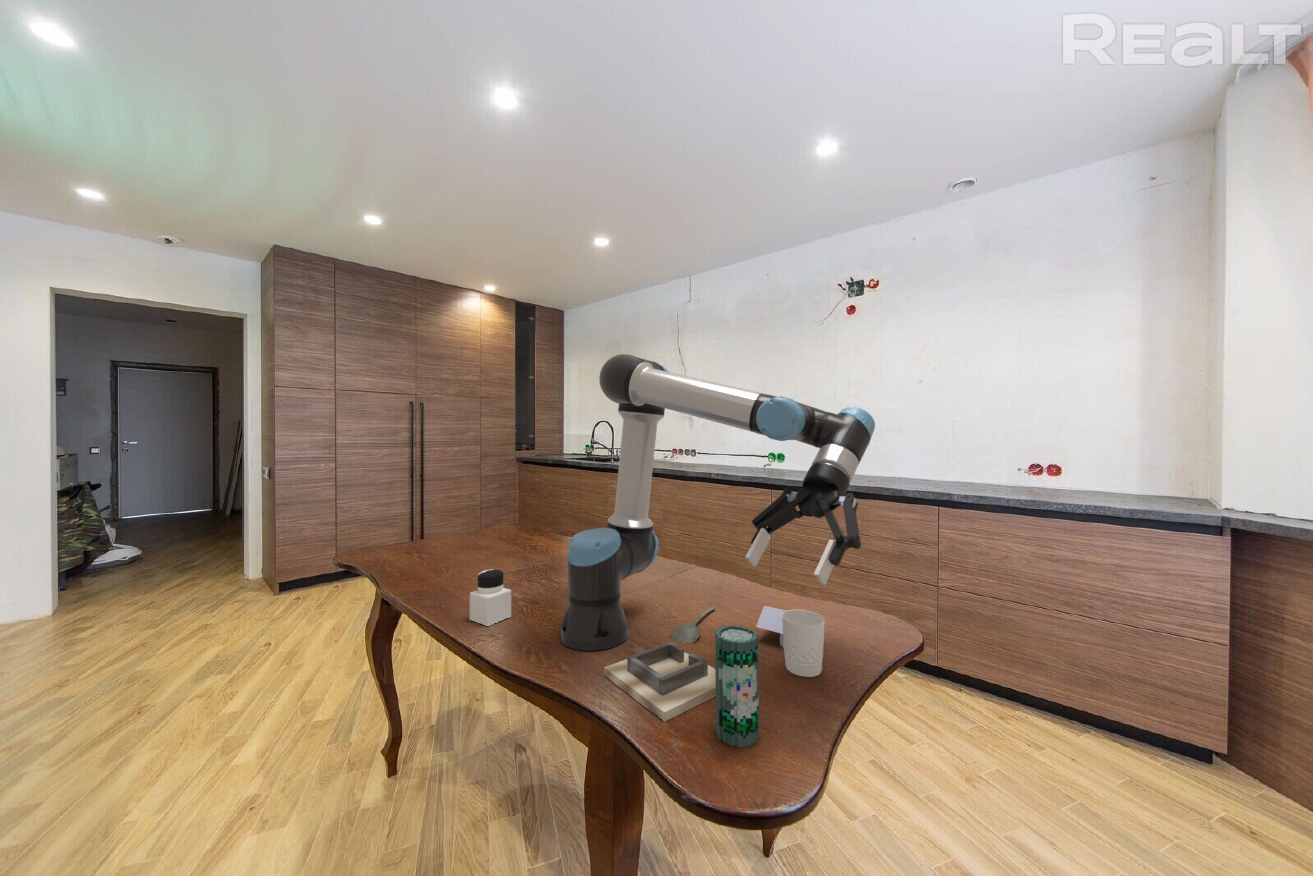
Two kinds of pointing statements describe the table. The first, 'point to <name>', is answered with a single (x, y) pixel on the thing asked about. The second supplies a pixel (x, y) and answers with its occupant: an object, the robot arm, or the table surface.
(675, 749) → the table surface
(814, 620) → the white cup
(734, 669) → the can
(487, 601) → the medicine bottle
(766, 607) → the wedge on round base
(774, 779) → the table surface
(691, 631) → the soupspoon
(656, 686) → the board with grey rim
